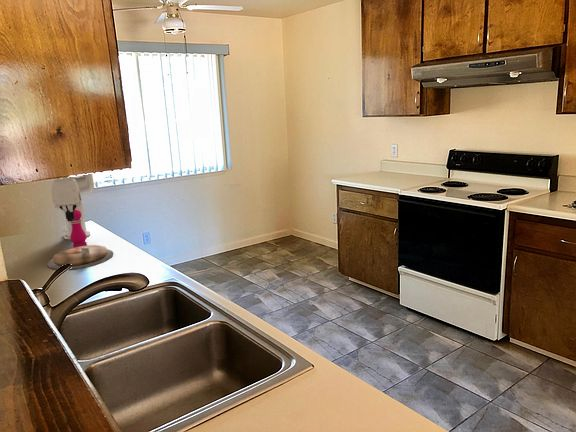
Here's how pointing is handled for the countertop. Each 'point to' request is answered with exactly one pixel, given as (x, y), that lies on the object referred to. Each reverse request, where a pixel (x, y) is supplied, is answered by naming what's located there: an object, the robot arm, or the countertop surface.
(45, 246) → the countertop surface
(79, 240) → the pepper mill
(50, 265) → the base
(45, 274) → the countertop surface
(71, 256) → the turntable
